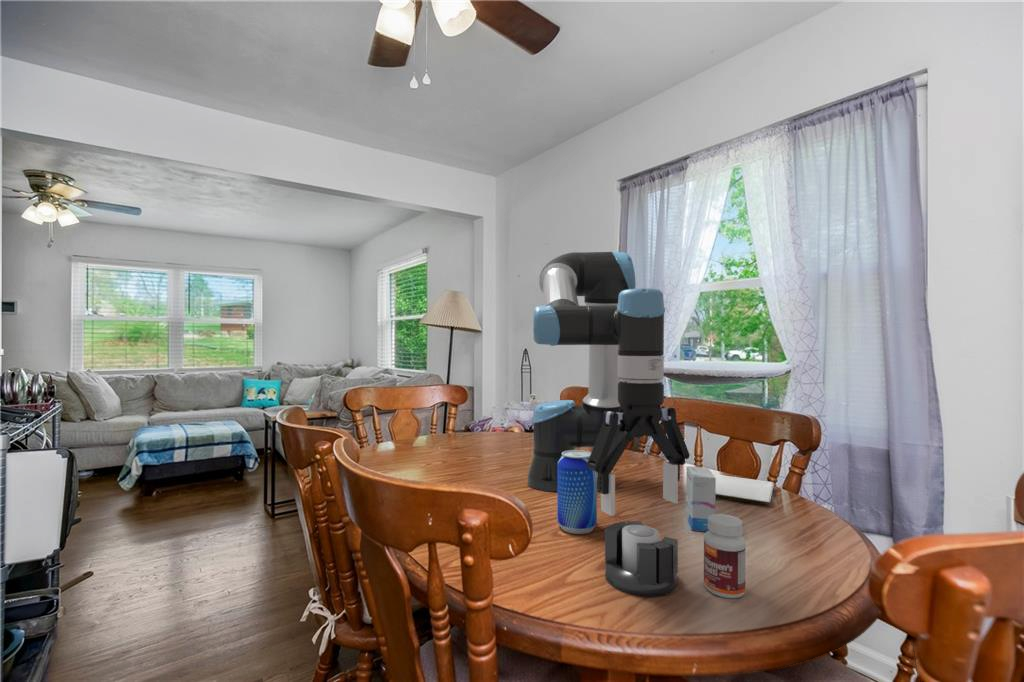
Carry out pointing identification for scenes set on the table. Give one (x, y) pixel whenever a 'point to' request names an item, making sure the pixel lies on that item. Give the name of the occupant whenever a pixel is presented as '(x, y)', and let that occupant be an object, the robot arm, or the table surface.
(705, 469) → the ink box
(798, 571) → the table surface
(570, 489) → the beer can
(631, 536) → the cap
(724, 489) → the plate
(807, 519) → the table surface
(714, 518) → the pill bottle
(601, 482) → the robot arm
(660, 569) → the dark faceted crown
